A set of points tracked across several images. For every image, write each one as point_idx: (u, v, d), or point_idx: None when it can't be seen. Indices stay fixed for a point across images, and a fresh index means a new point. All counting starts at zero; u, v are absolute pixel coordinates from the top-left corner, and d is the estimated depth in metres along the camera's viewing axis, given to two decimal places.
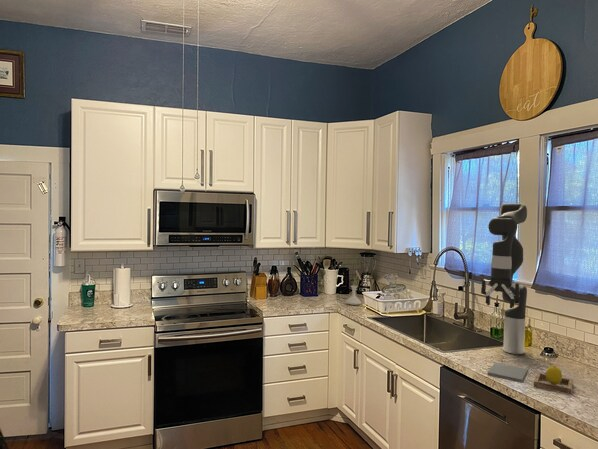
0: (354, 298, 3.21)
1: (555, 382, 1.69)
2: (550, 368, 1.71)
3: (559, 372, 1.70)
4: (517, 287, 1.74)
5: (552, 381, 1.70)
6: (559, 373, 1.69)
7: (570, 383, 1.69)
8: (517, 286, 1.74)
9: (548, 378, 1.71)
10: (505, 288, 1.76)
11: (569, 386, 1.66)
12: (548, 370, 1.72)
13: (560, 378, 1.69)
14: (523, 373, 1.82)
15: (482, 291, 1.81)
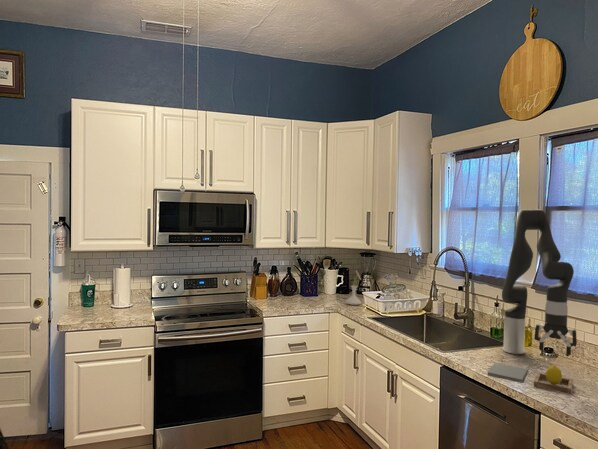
0: (354, 298, 3.21)
1: (555, 382, 1.69)
2: (550, 368, 1.71)
3: (559, 372, 1.70)
4: (574, 335, 1.67)
5: (552, 381, 1.70)
6: (559, 373, 1.69)
7: (570, 383, 1.69)
8: (574, 334, 1.67)
9: (548, 378, 1.71)
10: (561, 335, 1.69)
11: (569, 386, 1.66)
12: (548, 370, 1.72)
13: (560, 378, 1.69)
14: (523, 373, 1.82)
15: (535, 337, 1.74)
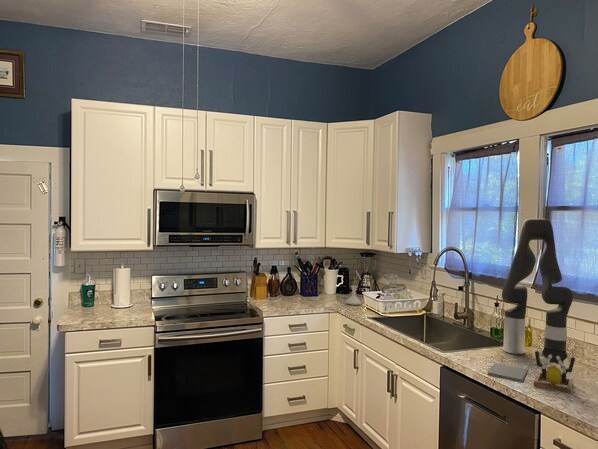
0: (354, 298, 3.21)
1: (555, 382, 1.69)
2: (550, 368, 1.71)
3: (559, 372, 1.70)
4: (572, 362, 1.67)
5: (552, 381, 1.70)
6: (559, 373, 1.69)
7: (570, 383, 1.69)
8: (573, 361, 1.67)
9: (548, 378, 1.71)
10: (559, 360, 1.69)
11: (569, 386, 1.66)
12: (548, 370, 1.72)
13: (560, 378, 1.69)
14: (523, 373, 1.82)
15: (538, 363, 1.74)
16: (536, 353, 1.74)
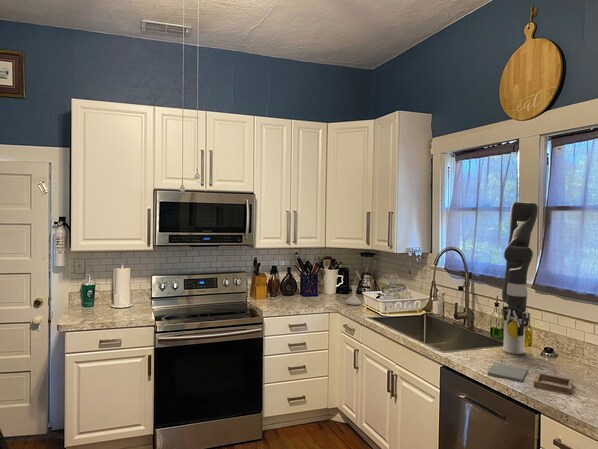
0: (354, 298, 3.21)
1: (510, 334, 1.82)
2: (510, 322, 1.84)
3: (515, 326, 1.81)
4: (523, 317, 1.77)
5: (508, 333, 1.83)
6: (514, 327, 1.81)
7: (570, 383, 1.69)
8: (523, 316, 1.77)
9: (507, 331, 1.85)
10: (515, 315, 1.81)
11: (569, 386, 1.66)
12: (508, 324, 1.85)
13: (515, 331, 1.81)
14: (523, 373, 1.82)
15: (504, 317, 1.88)
16: (503, 308, 1.89)
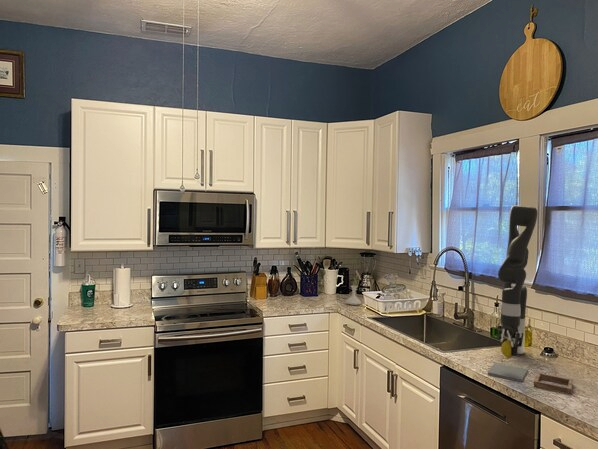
0: (354, 298, 3.21)
1: (504, 354, 1.83)
2: (504, 341, 1.86)
3: (508, 345, 1.83)
4: (517, 337, 1.78)
5: (502, 353, 1.84)
6: (508, 346, 1.82)
7: (570, 383, 1.69)
8: (517, 336, 1.78)
9: (501, 350, 1.86)
10: (509, 335, 1.82)
11: (569, 386, 1.66)
12: None
13: (509, 351, 1.82)
14: (523, 373, 1.82)
15: (498, 337, 1.90)
16: (497, 327, 1.91)
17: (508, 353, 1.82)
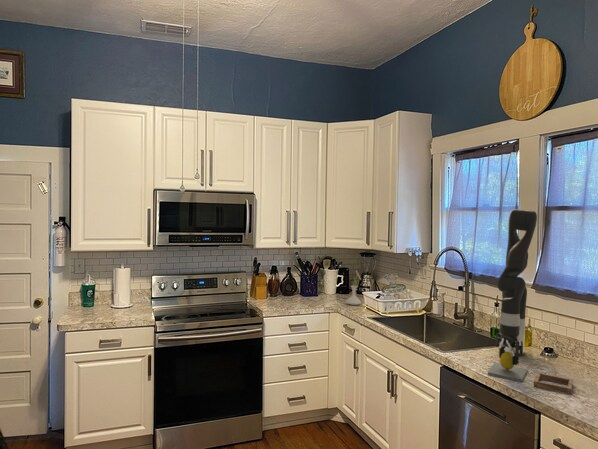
0: (354, 298, 3.21)
1: (503, 366, 1.84)
2: (503, 353, 1.86)
3: (507, 357, 1.83)
4: (516, 345, 1.78)
5: (501, 364, 1.85)
6: (507, 358, 1.83)
7: (570, 383, 1.69)
8: (516, 344, 1.78)
9: (500, 361, 1.86)
10: (508, 344, 1.82)
11: (569, 386, 1.66)
12: (501, 355, 1.86)
13: (508, 363, 1.82)
14: (523, 373, 1.82)
15: (496, 344, 1.91)
16: (497, 335, 1.91)
17: (507, 365, 1.83)
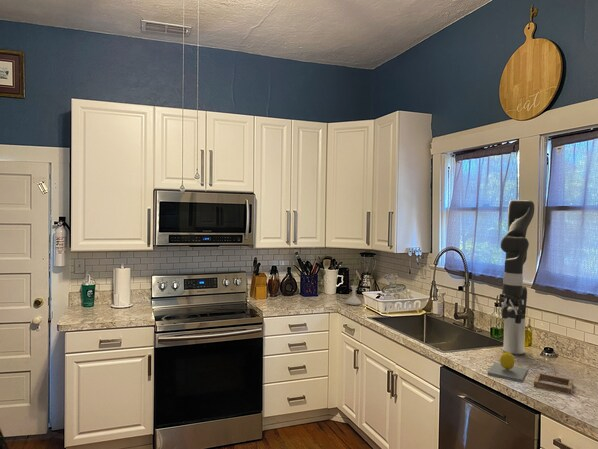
0: (354, 298, 3.21)
1: (503, 366, 1.84)
2: (503, 353, 1.86)
3: (507, 357, 1.83)
4: (519, 304, 1.80)
5: (501, 364, 1.85)
6: (507, 358, 1.83)
7: (570, 383, 1.69)
8: (519, 303, 1.80)
9: (500, 362, 1.86)
10: (511, 303, 1.84)
11: (569, 386, 1.66)
12: (501, 355, 1.87)
13: (508, 363, 1.82)
14: (523, 373, 1.82)
15: (499, 304, 1.93)
16: (500, 295, 1.93)
17: (507, 365, 1.83)
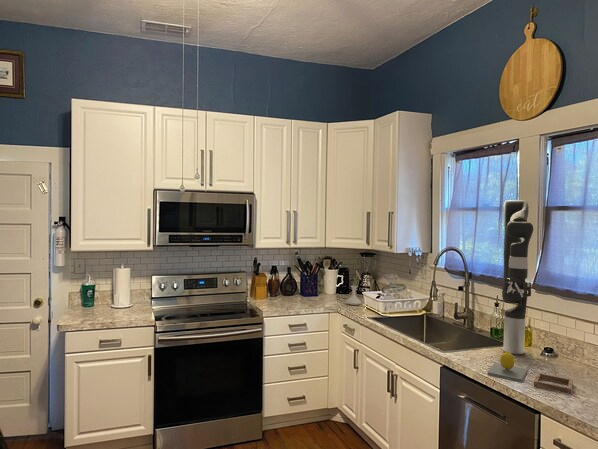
0: (354, 298, 3.21)
1: (503, 366, 1.84)
2: (503, 353, 1.86)
3: (507, 357, 1.83)
4: (525, 286, 1.86)
5: (501, 364, 1.85)
6: (507, 358, 1.83)
7: (570, 383, 1.69)
8: (525, 285, 1.86)
9: (500, 362, 1.86)
10: (517, 286, 1.90)
11: (569, 386, 1.66)
12: (501, 355, 1.87)
13: (508, 363, 1.82)
14: (523, 373, 1.82)
15: (505, 288, 1.98)
16: (505, 280, 1.98)
17: (507, 365, 1.83)
